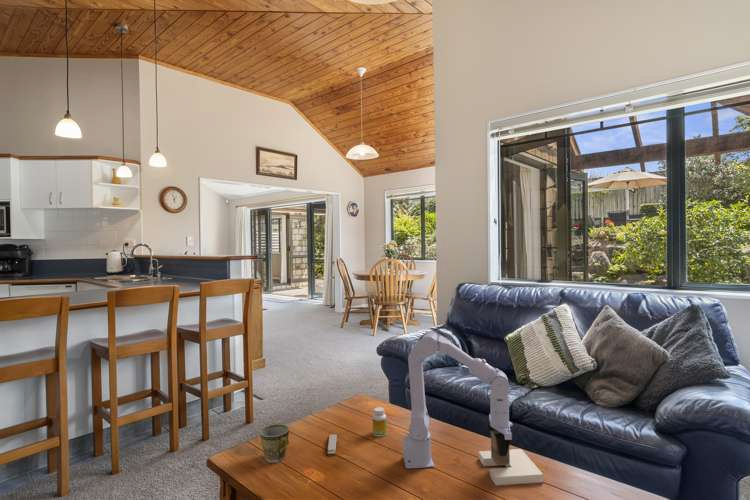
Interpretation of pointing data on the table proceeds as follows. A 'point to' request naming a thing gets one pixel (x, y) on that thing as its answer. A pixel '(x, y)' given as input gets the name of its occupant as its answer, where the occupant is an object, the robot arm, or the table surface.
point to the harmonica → (332, 445)
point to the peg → (495, 451)
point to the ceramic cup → (274, 442)
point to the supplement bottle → (379, 422)
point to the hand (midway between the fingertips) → (500, 451)
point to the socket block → (512, 469)
